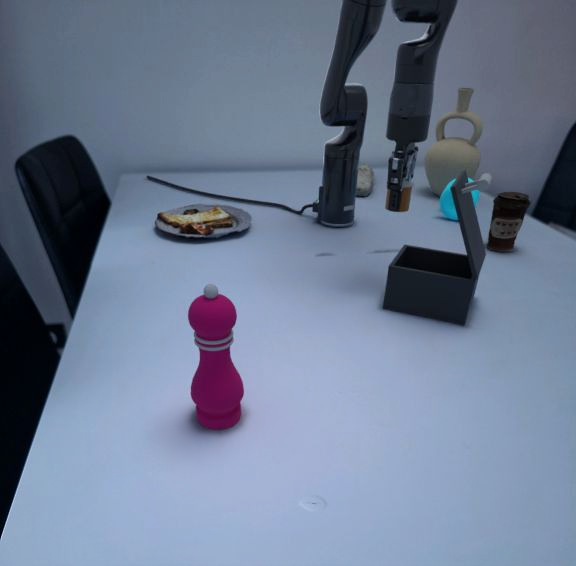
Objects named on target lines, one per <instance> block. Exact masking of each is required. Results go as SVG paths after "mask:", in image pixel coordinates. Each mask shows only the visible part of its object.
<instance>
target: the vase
mask: <svg viewBox="0 0 576 566" xmlns="http://www.w3.org/2000/svg"><path fill="white" fill-rule="evenodd" d="M474 92H475V88H472V87H471V88H470V87H458V88H457V100H456V108H455V110H451V111H449V112H446V113H445V114H443V115H442V116H441V117H439V119H438V121H437V122H436V125H435V130H434V132H435V133H434V134H435V139H436V141H435V142H434V143H432V144H431V145H430V147H429V148H428V149H427V150H426V153H425V156H424V171H425V176H426V179H427V182H428V184H429V186H430V189H431V190H432V192H433V193H434V194H435V195H436V196H438V197H441V195H442V193H443V191H444V190H445V188H446V186H447V185H448V184H449V183H450V182H451V181H452V180H454V179H456V178H457V177H458V176H459V174H460V173H461V171H464V170H466V172H467V177H468V178H470V179H472V180H473V181H474V178H475V176H476V175H477V172H478V171H479V168H480V164H481V158H482V157H481V151H480V148H479V147H478V146H477V145H476V144H477V143H478V141H479V140H480V139H481V136H482V134H483V127H484V126H483V122H482V118H480V116H479V115H478V114H476V113H475V112H473V111H470V110H469V108H470V104H471V100H472V97H473V94H474ZM457 119H458V120H459V119H460V120H465V121H468V122H470V123H471V124H472V126H473V134H472V136H471V137H470V138H469V139H468V138H464V137H460V136H459V137H458V136H451V137H446V135H445V128H446V124H447V122H448V121H450V120H457Z"/></svg>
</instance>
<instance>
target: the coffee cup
mask: <svg viewBox="0 0 576 566" xmlns="http://www.w3.org/2000/svg"><path fill="white" fill-rule="evenodd" d="M529 198H530V195H529V194H527V193H523V192H517V191H503V192H499V193H497V196H496V197H494V199H493V200H492V202H493V204H492V205H493V206H492V212H491V218H490V225H489V230H488V237H487V244H486V247H487V248H488V249H490V250H492V251H497V252H505V253H506V252H512V251H514V248H515V241H516V240H517V237H518V235H519V232H520V230H521V228H522V226H523V223H524V219H525V216H526V214H527V211H528V209H529V208H530V206H531V204H532V203H531V200H530V199H529Z"/></svg>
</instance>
